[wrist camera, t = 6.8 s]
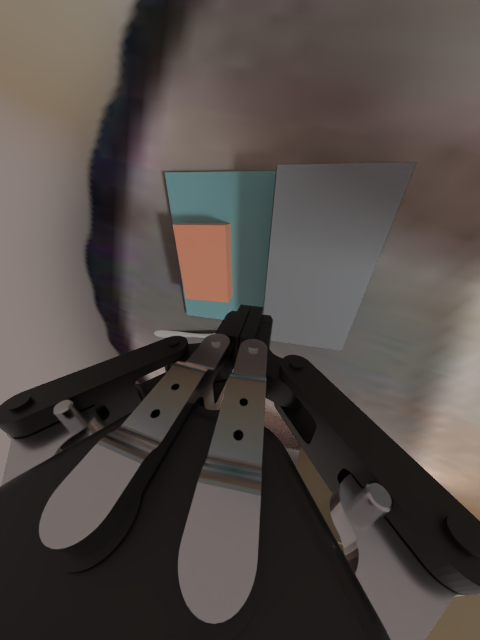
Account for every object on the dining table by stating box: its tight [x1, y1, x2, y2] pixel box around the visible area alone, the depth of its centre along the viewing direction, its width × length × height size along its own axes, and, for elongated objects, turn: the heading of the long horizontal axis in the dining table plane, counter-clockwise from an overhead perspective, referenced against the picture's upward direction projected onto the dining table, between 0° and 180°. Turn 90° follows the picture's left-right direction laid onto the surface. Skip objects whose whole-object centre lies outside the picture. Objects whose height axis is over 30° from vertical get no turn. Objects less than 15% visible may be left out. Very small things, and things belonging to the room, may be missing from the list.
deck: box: [263, 162, 417, 351], centre depth 21 cm, size 10×18×4 cm, turn 179°
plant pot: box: [296, 447, 345, 555], centre depth 35 cm, size 15×15×16 cm
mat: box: [165, 171, 276, 320], centre depth 24 cm, size 12×18×1 cm, turn 179°
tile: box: [173, 223, 233, 303], centre depth 24 cm, size 6×9×2 cm, turn 0°
